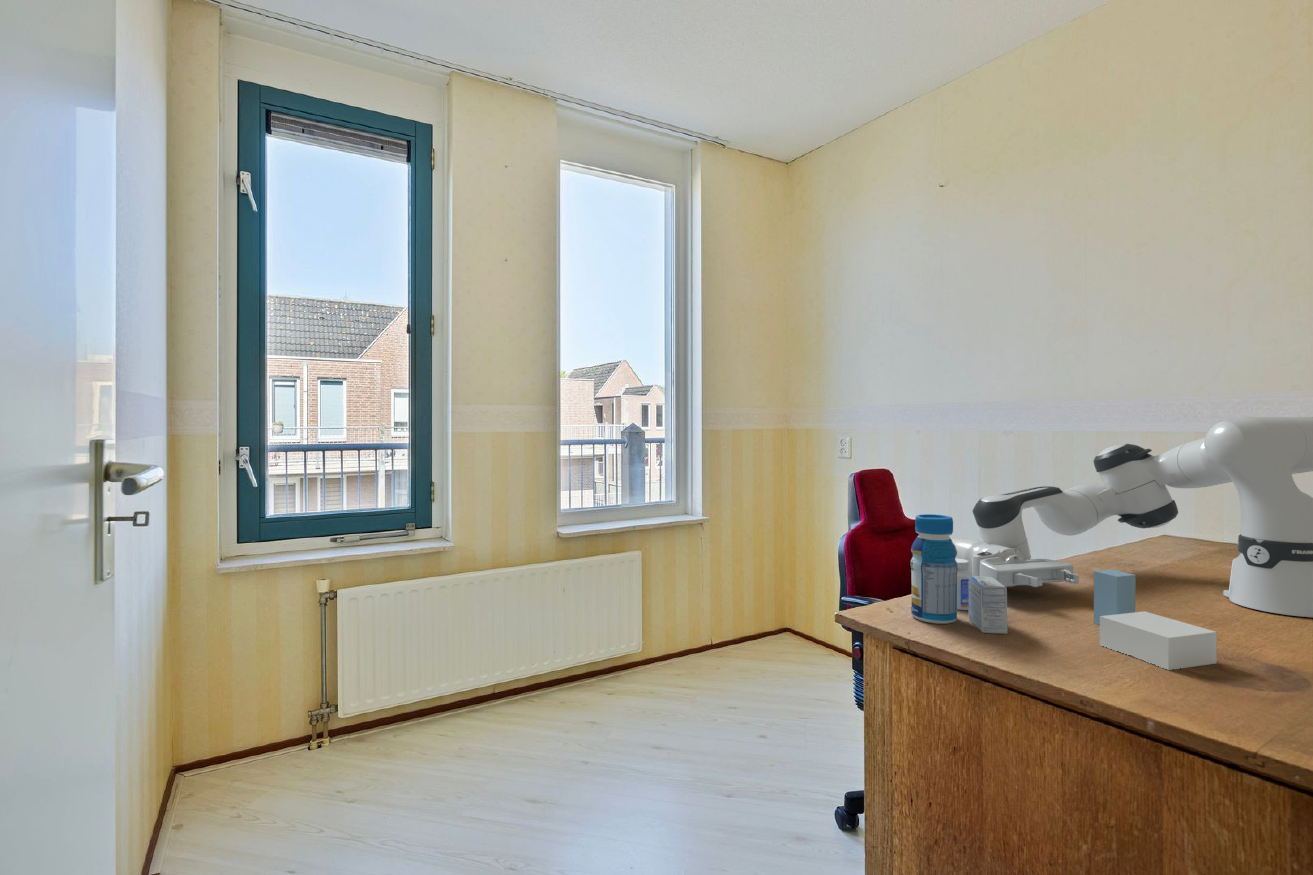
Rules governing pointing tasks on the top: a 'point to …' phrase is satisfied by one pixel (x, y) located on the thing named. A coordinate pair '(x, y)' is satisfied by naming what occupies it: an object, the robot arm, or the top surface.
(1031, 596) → the top surface
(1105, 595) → the block
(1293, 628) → the top surface
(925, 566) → the beverage bottle
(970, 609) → the medicine box
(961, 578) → the pill bottle
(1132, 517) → the robot arm
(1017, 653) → the top surface
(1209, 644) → the block
